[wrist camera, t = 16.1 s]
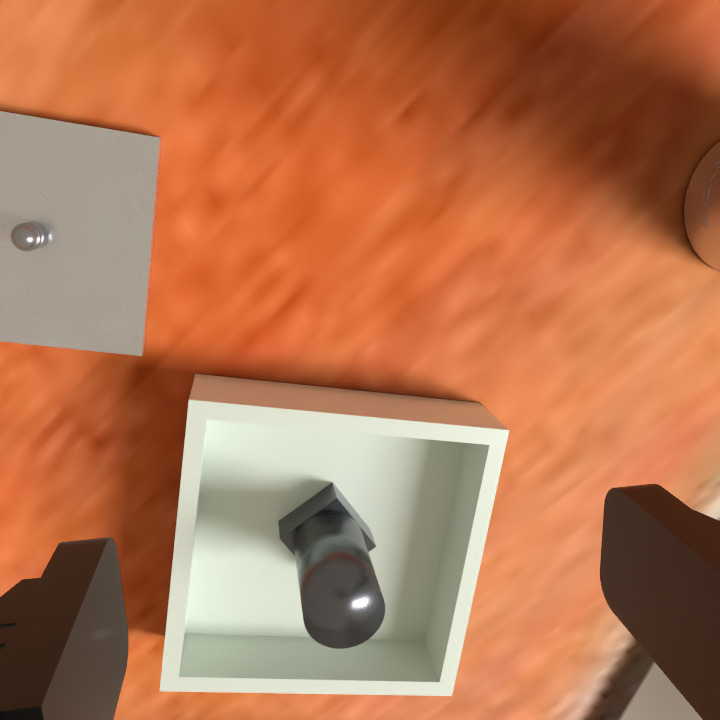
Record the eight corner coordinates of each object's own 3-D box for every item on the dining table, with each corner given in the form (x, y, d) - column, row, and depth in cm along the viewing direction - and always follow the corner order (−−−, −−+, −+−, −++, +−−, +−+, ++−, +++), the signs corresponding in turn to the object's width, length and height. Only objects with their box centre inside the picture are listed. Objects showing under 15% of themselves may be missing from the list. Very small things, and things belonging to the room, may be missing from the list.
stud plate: (162, 138, 37) (154, 135, 34) (144, 351, 40) (136, 365, 37) (-81, 98, 35) (-112, 91, 32) (-82, 327, 38) (-110, 340, 35)
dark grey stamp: (332, 482, 43) (354, 560, 34) (370, 529, 44) (400, 616, 35) (278, 521, 43) (286, 609, 34) (317, 566, 44) (334, 663, 35)
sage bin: (480, 402, 44) (509, 430, 39) (431, 644, 48) (451, 696, 44) (195, 373, 41) (188, 399, 36) (168, 636, 45) (159, 691, 40)
